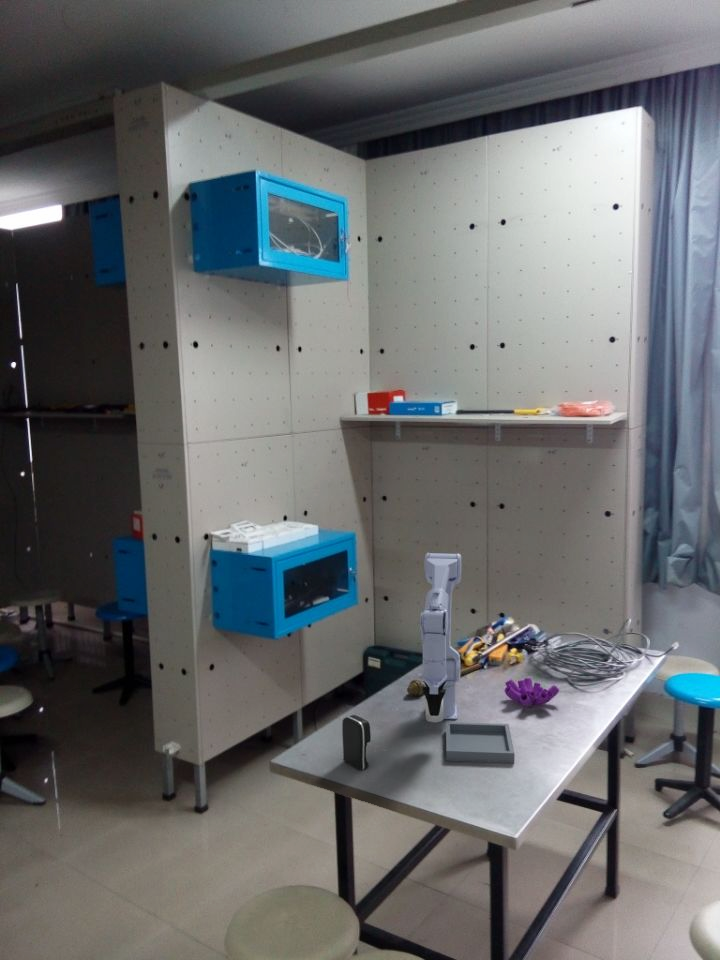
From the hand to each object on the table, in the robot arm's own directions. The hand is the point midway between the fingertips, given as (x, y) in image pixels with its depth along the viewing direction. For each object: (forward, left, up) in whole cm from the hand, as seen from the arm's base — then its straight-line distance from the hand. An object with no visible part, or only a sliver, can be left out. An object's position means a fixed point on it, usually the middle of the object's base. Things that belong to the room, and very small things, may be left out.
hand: (434, 711), depth 188 cm
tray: (0, +11, -9) cm, 14 cm away
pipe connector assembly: (-27, +26, -9) cm, 38 cm away
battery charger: (+11, -18, -9) cm, 23 cm away
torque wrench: (-43, +3, -9) cm, 44 cm away
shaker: (0, 0, -2) cm, 2 cm away
